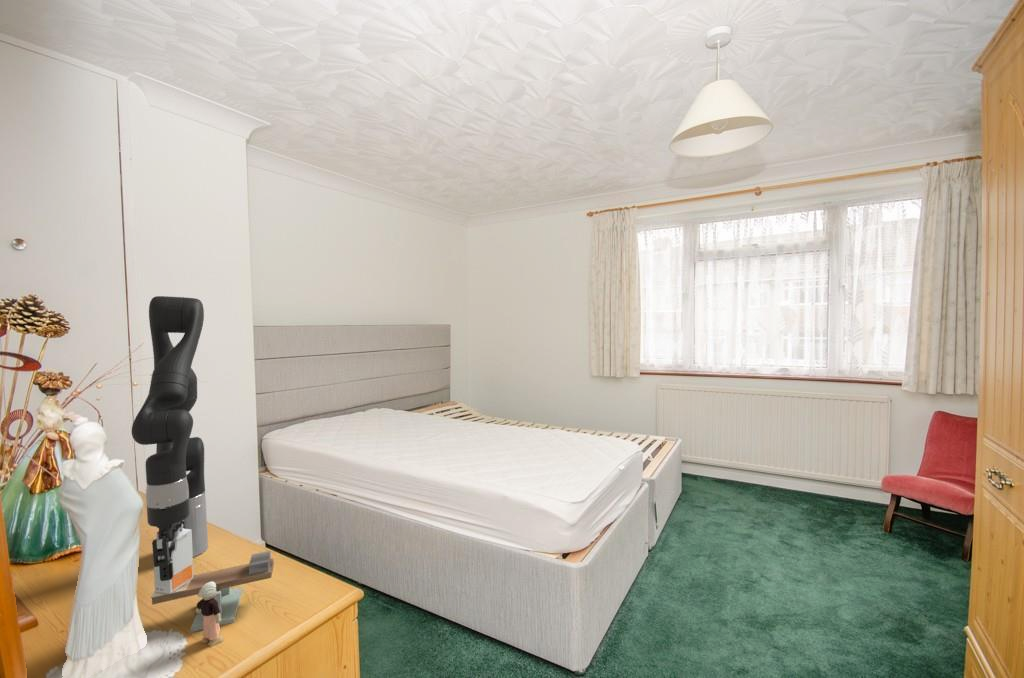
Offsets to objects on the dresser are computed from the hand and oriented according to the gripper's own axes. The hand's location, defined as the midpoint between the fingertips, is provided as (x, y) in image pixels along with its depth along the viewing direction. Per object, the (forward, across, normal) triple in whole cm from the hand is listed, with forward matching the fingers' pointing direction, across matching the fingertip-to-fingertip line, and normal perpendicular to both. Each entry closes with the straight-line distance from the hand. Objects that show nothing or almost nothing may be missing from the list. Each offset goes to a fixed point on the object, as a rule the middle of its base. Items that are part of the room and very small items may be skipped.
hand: (172, 569), depth 101 cm
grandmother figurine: (+12, +10, +9) cm, 18 cm away
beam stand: (+12, 0, +8) cm, 15 cm away
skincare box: (+4, 0, 0) cm, 4 cm away
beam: (+6, 0, +8) cm, 10 cm away
